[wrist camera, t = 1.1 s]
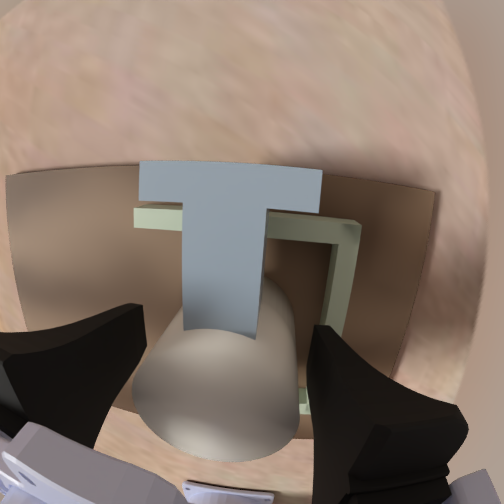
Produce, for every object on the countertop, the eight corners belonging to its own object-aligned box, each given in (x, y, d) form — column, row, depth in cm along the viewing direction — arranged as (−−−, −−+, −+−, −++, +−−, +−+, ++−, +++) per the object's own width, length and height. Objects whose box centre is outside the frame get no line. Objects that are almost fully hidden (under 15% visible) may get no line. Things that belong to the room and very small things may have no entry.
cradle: (317, 399, 14) (319, 414, 13) (158, 379, 15) (151, 393, 14) (354, 220, 11) (361, 225, 10) (146, 204, 12) (133, 207, 11)
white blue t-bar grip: (286, 369, 14) (286, 468, 8) (187, 356, 14) (145, 445, 8) (312, 171, 11) (344, 172, 5) (188, 163, 12) (108, 161, 6)
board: (359, 429, 16) (361, 437, 15) (49, 374, 17) (44, 379, 17) (427, 190, 12) (435, 192, 11) (14, 174, 13) (5, 175, 12)
